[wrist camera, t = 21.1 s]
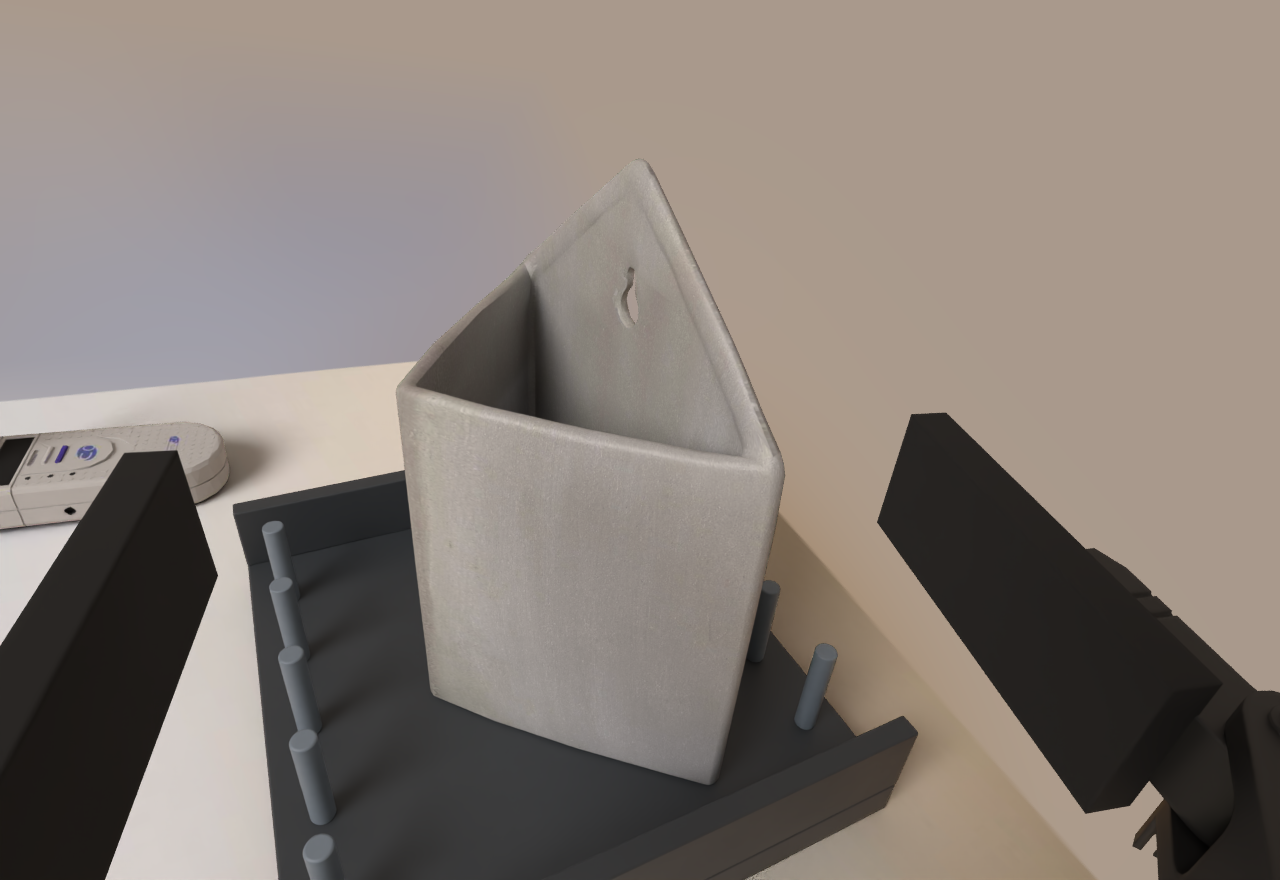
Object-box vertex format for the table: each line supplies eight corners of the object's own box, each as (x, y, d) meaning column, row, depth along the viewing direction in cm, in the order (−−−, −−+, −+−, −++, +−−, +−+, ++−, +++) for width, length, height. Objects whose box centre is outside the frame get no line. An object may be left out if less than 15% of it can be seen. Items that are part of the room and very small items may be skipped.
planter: (376, 563, 34) (305, 108, 24) (536, 516, 38) (537, 105, 27) (513, 892, 23) (494, 300, 12) (723, 780, 26) (848, 250, 16)
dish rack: (636, 488, 43) (644, 406, 40) (885, 807, 28) (928, 714, 25) (253, 579, 35) (227, 485, 32) (307, 1106, 20) (266, 1019, 17)
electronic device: (187, 340, 34) (-257, 361, 29) (227, 511, 39) (-143, 554, 34) (200, 296, 38) (-186, 307, 33) (235, 455, 43) (-93, 487, 38)
